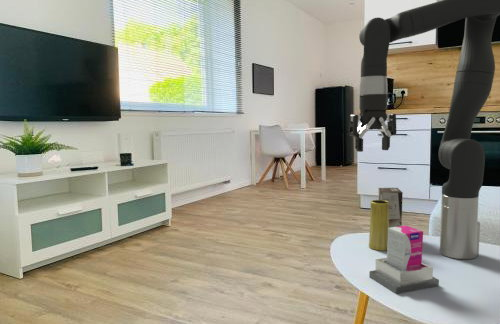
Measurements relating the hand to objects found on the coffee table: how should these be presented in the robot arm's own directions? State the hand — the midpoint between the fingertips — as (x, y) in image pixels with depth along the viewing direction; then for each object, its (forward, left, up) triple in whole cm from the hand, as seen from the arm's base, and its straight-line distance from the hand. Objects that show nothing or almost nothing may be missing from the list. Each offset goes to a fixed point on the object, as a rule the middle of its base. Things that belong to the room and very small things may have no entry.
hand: (372, 150), depth 111 cm
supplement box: (+5, +20, -29) cm, 35 cm away
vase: (-5, -3, -30) cm, 31 cm away
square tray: (+5, +20, -30) cm, 36 cm away
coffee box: (-14, -10, -30) cm, 35 cm away
